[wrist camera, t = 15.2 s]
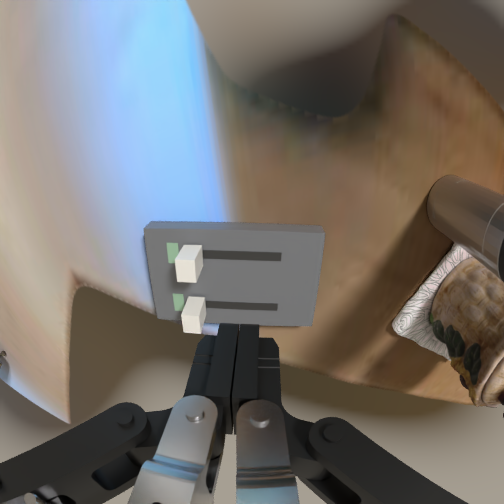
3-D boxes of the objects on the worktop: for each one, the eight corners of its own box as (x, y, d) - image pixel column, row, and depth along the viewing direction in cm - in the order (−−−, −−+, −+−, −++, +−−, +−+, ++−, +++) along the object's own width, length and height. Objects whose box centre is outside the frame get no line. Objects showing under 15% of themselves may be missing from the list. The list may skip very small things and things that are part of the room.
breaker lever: (201, 245, 37) (194, 260, 33) (203, 265, 38) (196, 282, 34) (184, 244, 37) (174, 259, 33) (185, 265, 38) (177, 281, 34)
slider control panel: (321, 225, 39) (325, 233, 36) (309, 314, 45) (311, 326, 42) (151, 221, 40) (143, 228, 37) (162, 308, 46) (157, 319, 43)
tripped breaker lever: (205, 297, 40) (198, 316, 36) (206, 314, 42) (200, 333, 37) (188, 296, 40) (181, 314, 36) (190, 313, 42) (183, 332, 38)
